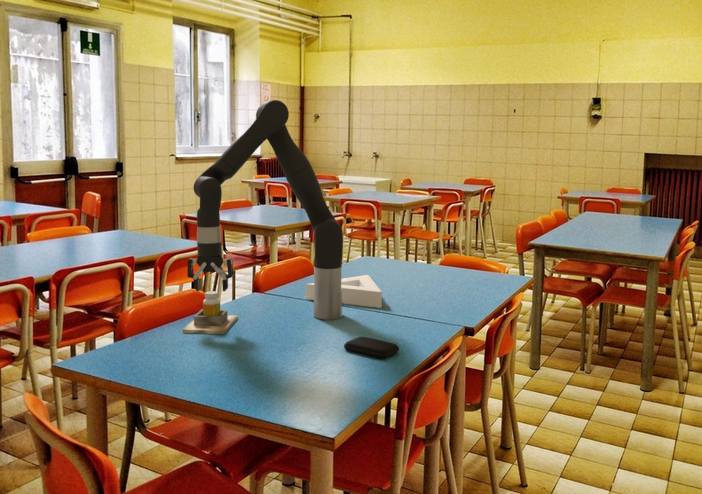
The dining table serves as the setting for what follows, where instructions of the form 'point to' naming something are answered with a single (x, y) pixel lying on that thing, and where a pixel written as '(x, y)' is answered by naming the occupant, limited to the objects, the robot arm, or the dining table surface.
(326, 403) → the dining table surface
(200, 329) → the caddy
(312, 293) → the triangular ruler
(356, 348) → the carrying case or bag
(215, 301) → the supplement bottle
